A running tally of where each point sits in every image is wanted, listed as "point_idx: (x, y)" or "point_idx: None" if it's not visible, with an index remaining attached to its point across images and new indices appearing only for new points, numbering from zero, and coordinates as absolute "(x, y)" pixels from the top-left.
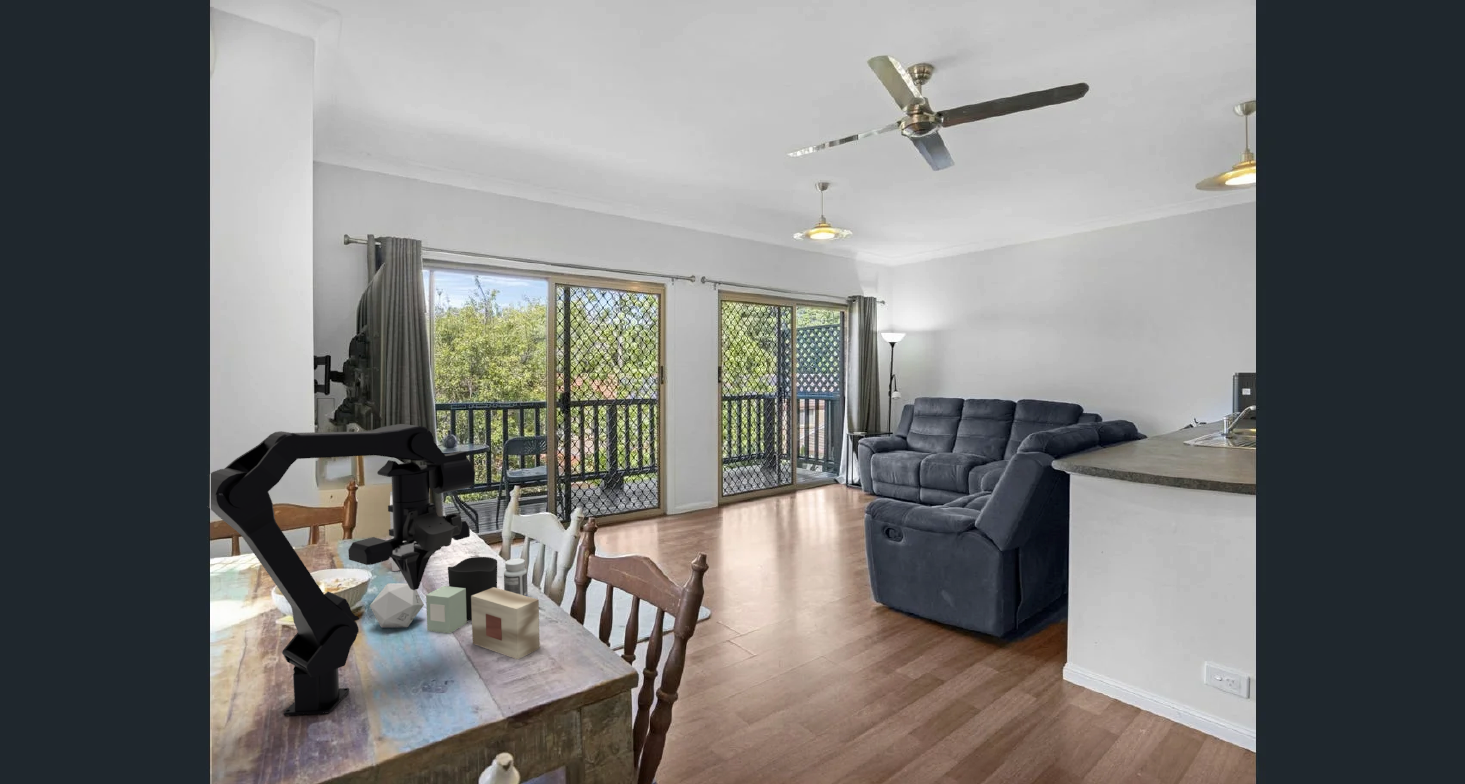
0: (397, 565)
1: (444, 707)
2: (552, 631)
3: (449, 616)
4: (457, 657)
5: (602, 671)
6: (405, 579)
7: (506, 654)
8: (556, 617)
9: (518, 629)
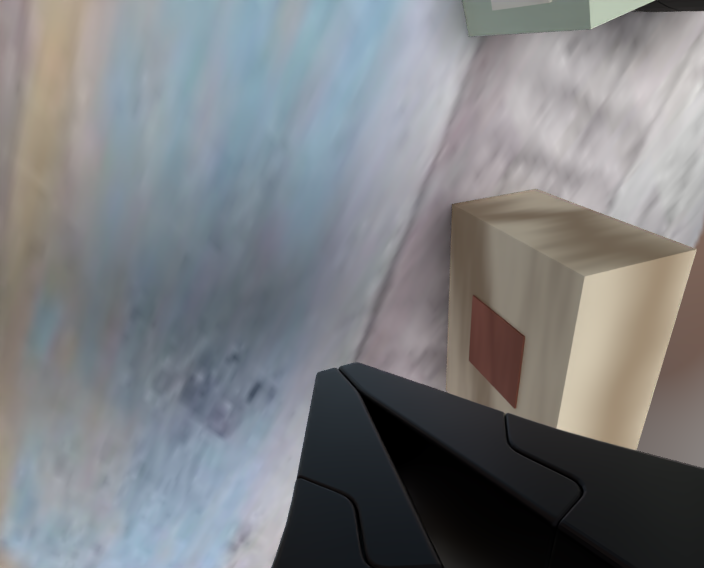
0: (277, 566)
1: (186, 502)
2: None
3: (518, 31)
4: (363, 265)
5: None
6: (308, 420)
7: (448, 353)
8: (677, 231)
9: None
